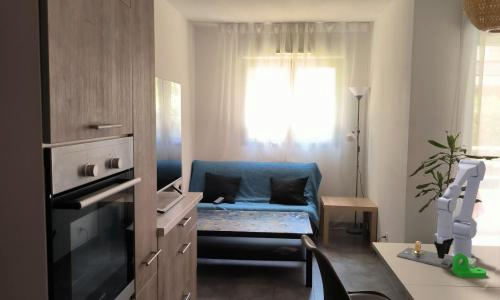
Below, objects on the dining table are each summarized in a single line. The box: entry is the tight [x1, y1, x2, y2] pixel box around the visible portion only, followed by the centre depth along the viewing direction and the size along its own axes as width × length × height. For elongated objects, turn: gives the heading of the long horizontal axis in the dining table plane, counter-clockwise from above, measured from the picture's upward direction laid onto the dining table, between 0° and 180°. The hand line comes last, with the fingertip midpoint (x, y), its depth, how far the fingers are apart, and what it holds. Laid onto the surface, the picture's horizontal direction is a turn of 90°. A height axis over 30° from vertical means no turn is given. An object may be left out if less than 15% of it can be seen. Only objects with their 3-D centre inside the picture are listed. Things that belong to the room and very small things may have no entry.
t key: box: [414, 240, 422, 252], centre depth 198 cm, size 2×7×5 cm, turn 154°
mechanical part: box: [451, 254, 487, 279], centre depth 175 cm, size 12×6×8 cm, turn 94°
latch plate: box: [396, 247, 454, 269], centre depth 195 cm, size 15×22×1 cm
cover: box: [459, 257, 477, 268], centre depth 184 cm, size 9×7×4 cm
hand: (443, 256), depth 190 cm, fingers open, 7 cm apart
